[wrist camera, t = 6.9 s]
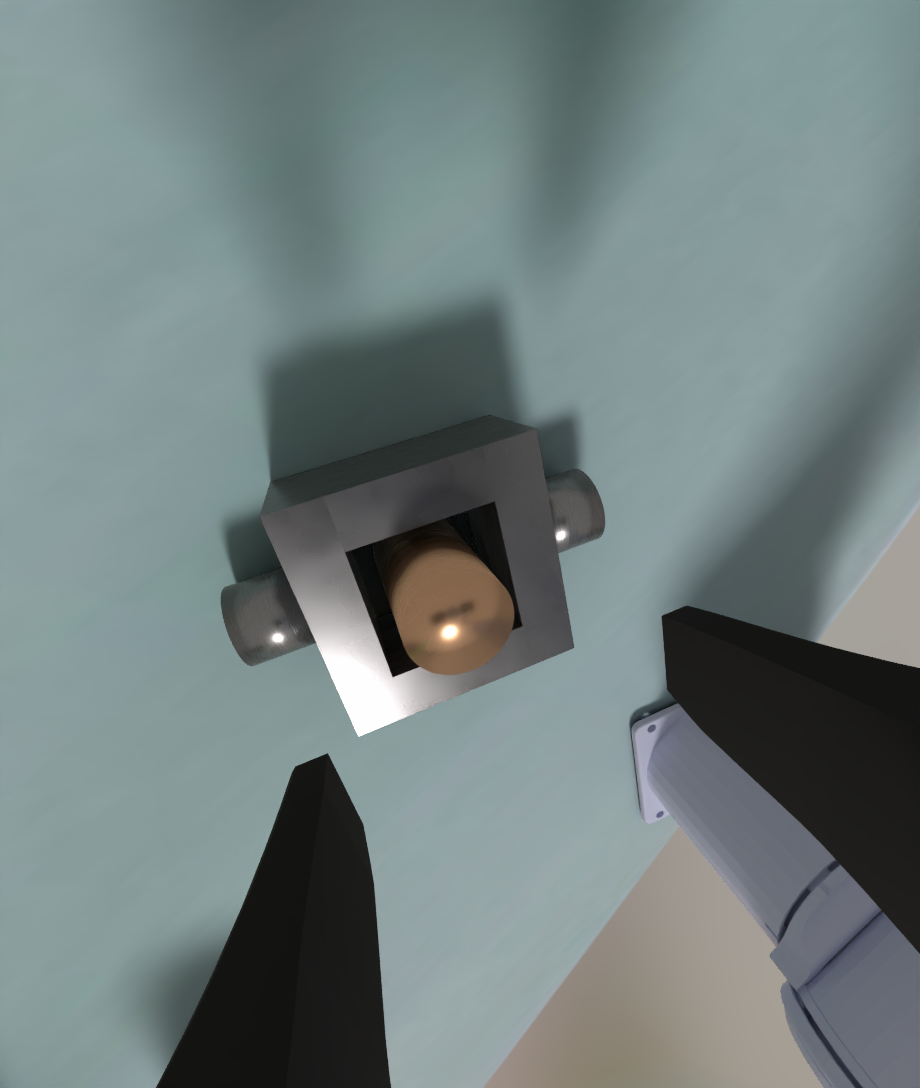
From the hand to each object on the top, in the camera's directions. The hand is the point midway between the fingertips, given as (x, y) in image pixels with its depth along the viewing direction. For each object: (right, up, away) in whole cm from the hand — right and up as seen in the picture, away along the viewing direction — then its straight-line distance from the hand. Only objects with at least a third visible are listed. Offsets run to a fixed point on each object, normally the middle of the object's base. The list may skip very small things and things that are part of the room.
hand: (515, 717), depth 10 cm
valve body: (-3, +3, +9) cm, 10 cm away
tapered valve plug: (-3, +3, +9) cm, 10 cm away
